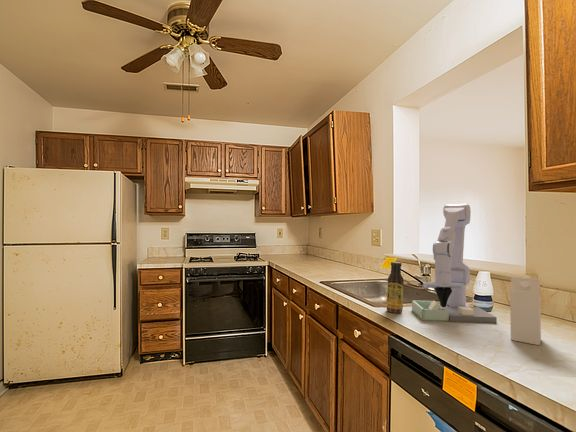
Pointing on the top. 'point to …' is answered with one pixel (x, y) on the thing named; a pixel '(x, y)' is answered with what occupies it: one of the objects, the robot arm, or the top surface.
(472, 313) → the tile
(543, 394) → the top surface
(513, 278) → the milk carton
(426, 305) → the tray
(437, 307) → the tile
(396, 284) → the sauce bottle
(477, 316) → the board
